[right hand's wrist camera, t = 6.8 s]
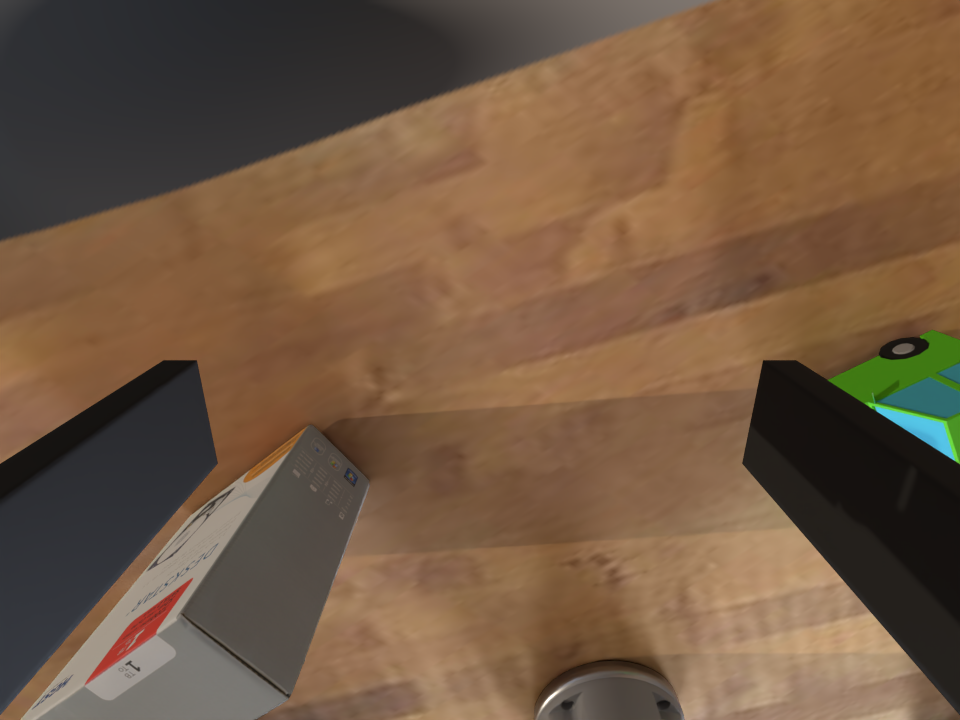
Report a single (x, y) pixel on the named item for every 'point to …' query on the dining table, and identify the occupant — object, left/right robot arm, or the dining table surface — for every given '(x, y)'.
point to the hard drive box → (223, 600)
